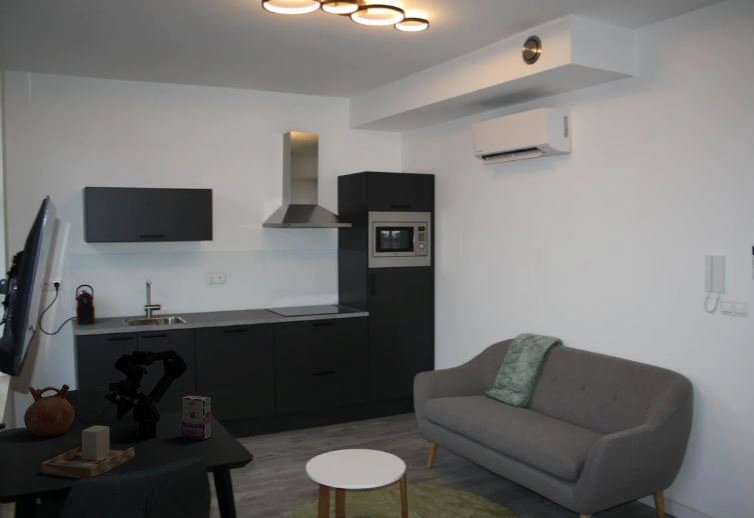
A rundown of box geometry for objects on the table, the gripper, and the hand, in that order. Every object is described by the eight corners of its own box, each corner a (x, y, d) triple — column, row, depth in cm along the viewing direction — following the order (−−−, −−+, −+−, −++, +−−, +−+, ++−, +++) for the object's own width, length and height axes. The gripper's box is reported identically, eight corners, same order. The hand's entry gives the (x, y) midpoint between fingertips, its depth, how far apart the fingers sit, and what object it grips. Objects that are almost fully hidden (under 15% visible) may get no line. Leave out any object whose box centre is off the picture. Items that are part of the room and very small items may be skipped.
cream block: (95, 452, 240) (95, 425, 240) (109, 453, 239) (109, 426, 239) (82, 458, 234) (81, 430, 233) (96, 460, 232) (96, 432, 232)
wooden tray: (88, 451, 247) (88, 442, 247) (134, 456, 242) (134, 447, 242) (41, 473, 224) (41, 463, 224) (91, 479, 219) (91, 469, 219)
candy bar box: (211, 437, 266) (211, 397, 265) (204, 440, 261) (204, 400, 261) (189, 434, 270) (189, 394, 270) (181, 437, 266) (181, 397, 265)
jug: (22, 442, 257) (21, 392, 257) (26, 430, 274) (25, 382, 273) (73, 437, 265) (73, 388, 264) (74, 425, 281) (74, 378, 280)
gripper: (101, 373, 256) (85, 412, 248) (133, 371, 247) (118, 411, 239) (123, 384, 264) (108, 422, 256) (155, 382, 254) (141, 421, 246)
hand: (118, 419), depth 249 cm, fingers closed
